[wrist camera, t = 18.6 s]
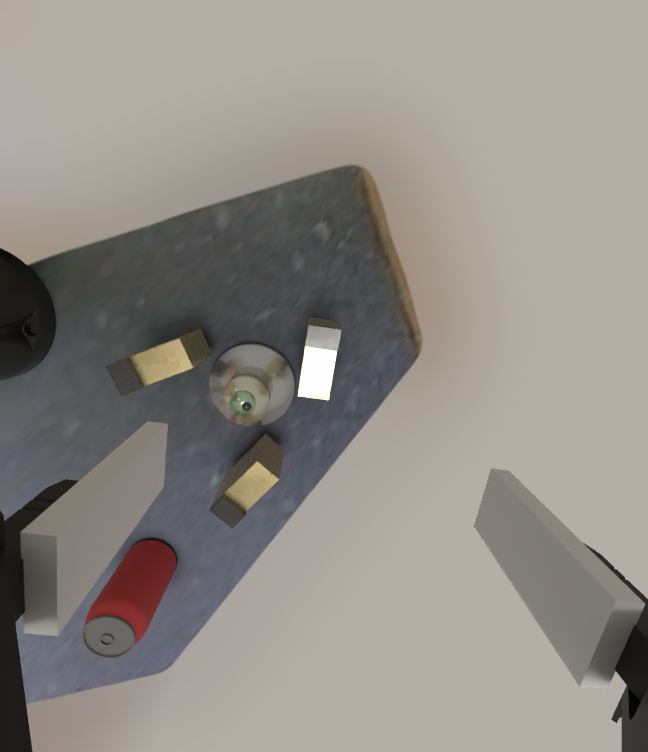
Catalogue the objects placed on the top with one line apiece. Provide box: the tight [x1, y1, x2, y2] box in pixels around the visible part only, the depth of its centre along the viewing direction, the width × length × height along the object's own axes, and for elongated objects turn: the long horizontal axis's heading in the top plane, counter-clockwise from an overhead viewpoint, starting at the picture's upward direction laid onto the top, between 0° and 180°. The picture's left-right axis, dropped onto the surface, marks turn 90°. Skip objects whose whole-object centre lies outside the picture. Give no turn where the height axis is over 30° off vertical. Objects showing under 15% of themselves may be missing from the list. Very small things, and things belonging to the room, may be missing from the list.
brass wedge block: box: [210, 434, 284, 528], centre depth 42 cm, size 7×3×8 cm, turn 136°
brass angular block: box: [298, 317, 341, 400], centre depth 39 cm, size 7×3×8 cm, turn 171°
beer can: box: [81, 540, 177, 659], centre depth 46 cm, size 7×7×12 cm
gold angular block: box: [106, 329, 212, 396], centre depth 38 cm, size 7×3×8 cm, turn 110°
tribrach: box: [209, 343, 295, 426], centre depth 42 cm, size 18×16×8 cm
